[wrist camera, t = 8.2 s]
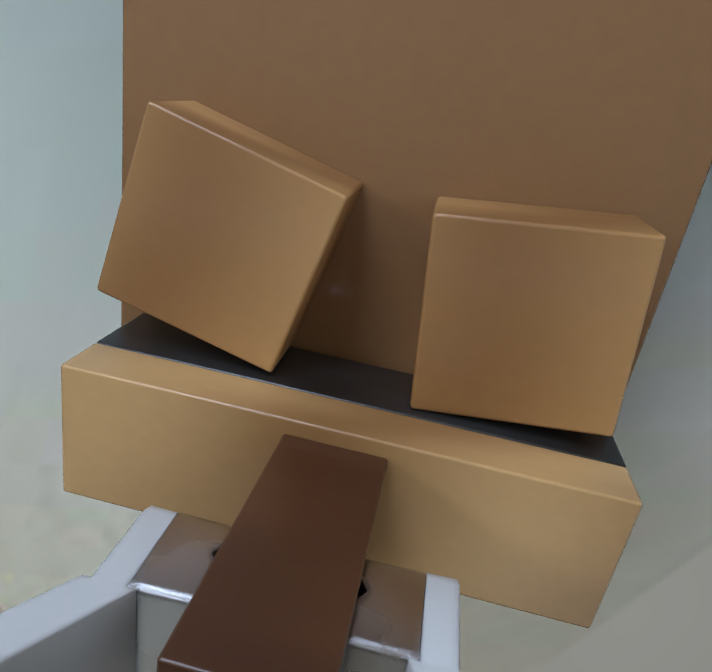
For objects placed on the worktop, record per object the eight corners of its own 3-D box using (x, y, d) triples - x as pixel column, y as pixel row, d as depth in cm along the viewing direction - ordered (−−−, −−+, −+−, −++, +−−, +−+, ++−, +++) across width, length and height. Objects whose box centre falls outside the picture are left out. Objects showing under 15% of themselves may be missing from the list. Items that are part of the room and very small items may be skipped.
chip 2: (637, 214, 12) (668, 236, 10) (593, 392, 14) (613, 438, 12) (437, 195, 12) (432, 212, 11) (416, 368, 14) (409, 409, 12)
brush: (605, 417, 13) (785, 816, 6) (565, 524, 15) (671, 975, 7) (143, 312, 14) (-213, 535, 7) (138, 418, 16) (-170, 711, 8)
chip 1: (364, 182, 13) (347, 197, 11) (295, 338, 14) (270, 374, 12) (192, 98, 13) (146, 99, 11) (142, 265, 14) (95, 290, 12)
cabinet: (688, 3, 16) (813, -49, 10) (540, 453, 21) (567, 579, 16) (234, -67, 17) (122, -148, 11) (204, 378, 22) (119, 471, 17)
